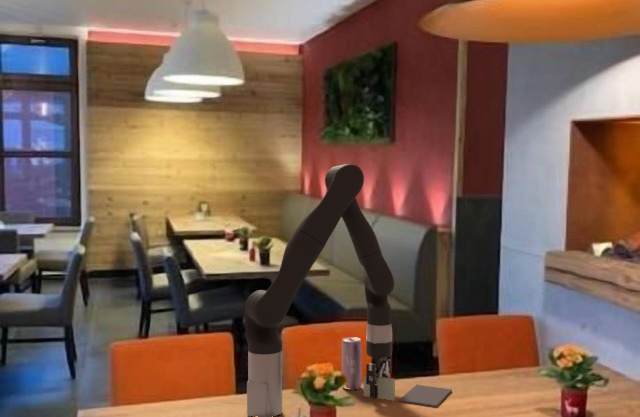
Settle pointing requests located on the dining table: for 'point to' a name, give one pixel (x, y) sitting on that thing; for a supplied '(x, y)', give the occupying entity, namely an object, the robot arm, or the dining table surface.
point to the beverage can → (351, 361)
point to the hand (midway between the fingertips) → (379, 393)
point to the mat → (425, 395)
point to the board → (382, 388)
